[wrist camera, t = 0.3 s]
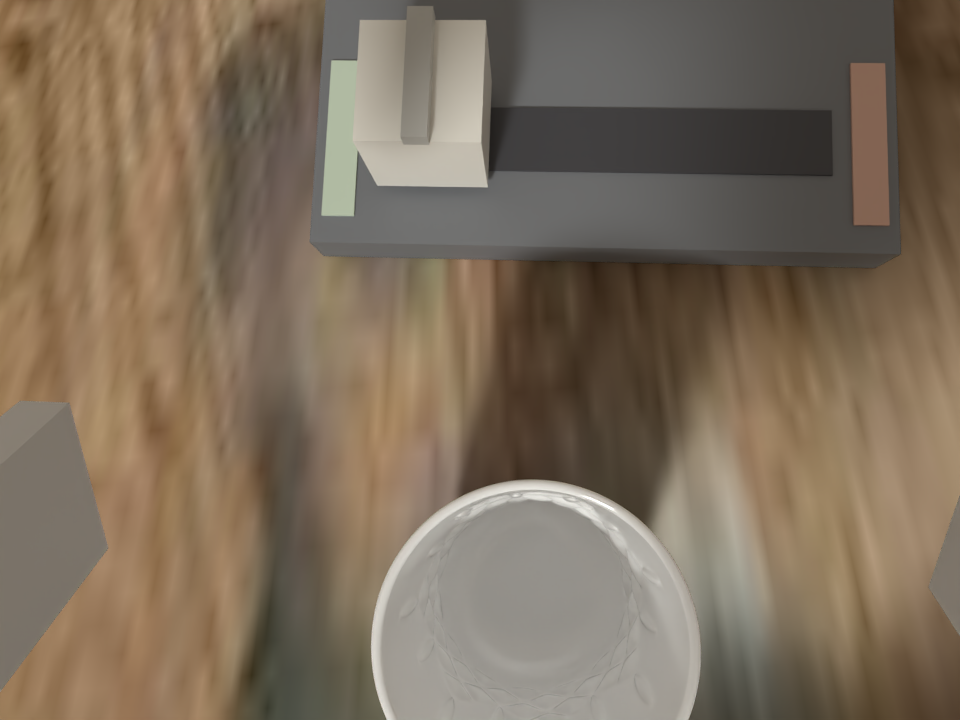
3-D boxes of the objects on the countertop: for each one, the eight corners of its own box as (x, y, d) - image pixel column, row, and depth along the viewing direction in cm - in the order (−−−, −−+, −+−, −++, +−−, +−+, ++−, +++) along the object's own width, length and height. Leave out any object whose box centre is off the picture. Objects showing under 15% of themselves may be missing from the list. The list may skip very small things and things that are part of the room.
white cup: (435, 462, 29) (387, 465, 19) (646, 481, 29) (710, 494, 19) (415, 680, 28) (353, 801, 18) (633, 703, 28) (692, 842, 18)
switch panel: (875, 267, 29) (902, 253, 27) (323, 255, 30) (308, 241, 28) (864, -169, 31) (888, -213, 29) (350, -162, 32) (338, -204, 30)
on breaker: (487, 190, 28) (479, 137, 23) (377, 188, 28) (348, 136, 23) (491, 78, 28) (484, 5, 24) (383, 78, 28) (356, 5, 24)
